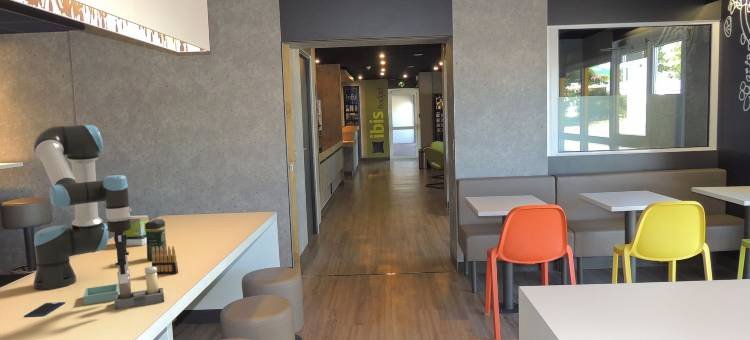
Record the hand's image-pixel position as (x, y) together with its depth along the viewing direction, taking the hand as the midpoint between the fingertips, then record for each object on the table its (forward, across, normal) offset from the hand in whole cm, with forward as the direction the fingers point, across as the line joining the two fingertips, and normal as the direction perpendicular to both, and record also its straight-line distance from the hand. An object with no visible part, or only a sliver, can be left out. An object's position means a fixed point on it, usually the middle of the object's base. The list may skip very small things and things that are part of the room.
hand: (124, 278), depth 198 cm
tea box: (+8, +109, -1) cm, 110 cm away
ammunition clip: (+9, +36, -14) cm, 40 cm away
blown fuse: (+10, 0, 0) cm, 10 cm away
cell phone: (+10, +9, +27) cm, 30 cm away
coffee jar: (+9, +67, -12) cm, 69 cm away
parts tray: (+9, +13, +9) cm, 18 cm away
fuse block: (+10, 0, -4) cm, 11 cm away
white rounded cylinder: (+10, 0, -9) cm, 13 cm away
